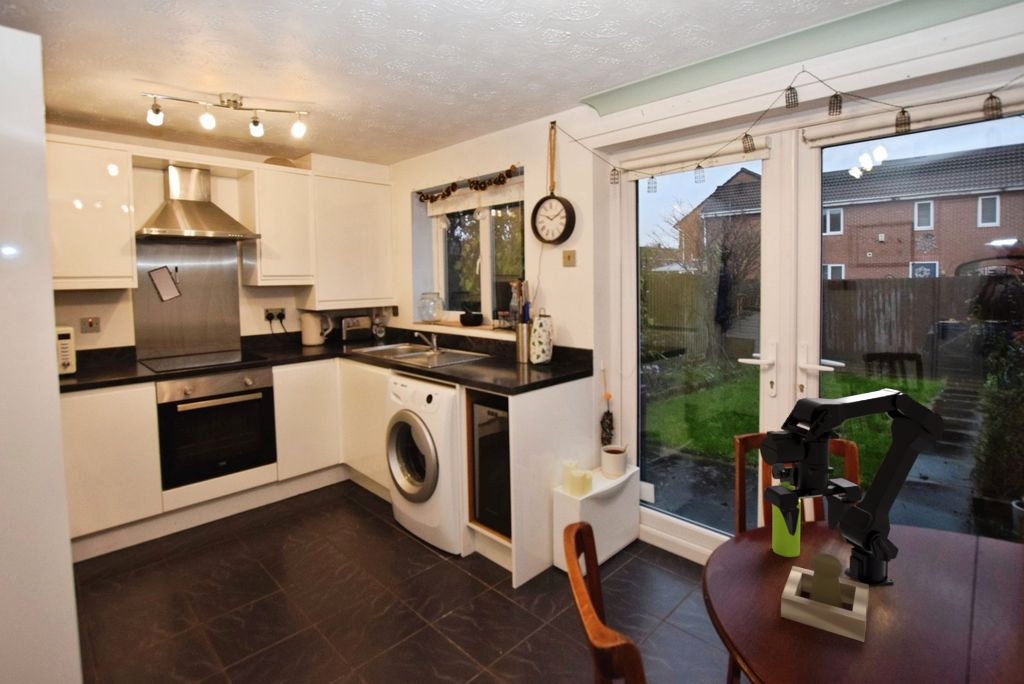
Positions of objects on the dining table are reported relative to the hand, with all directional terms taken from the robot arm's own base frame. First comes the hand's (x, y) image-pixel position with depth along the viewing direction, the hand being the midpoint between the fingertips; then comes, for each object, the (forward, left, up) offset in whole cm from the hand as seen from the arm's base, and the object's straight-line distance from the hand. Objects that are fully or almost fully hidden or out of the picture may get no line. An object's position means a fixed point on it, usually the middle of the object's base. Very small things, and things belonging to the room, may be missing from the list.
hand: (811, 532), depth 111 cm
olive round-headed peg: (+3, +8, -12) cm, 15 cm away
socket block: (+3, +8, -12) cm, 15 cm away
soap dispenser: (-5, -14, -12) cm, 19 cm away
